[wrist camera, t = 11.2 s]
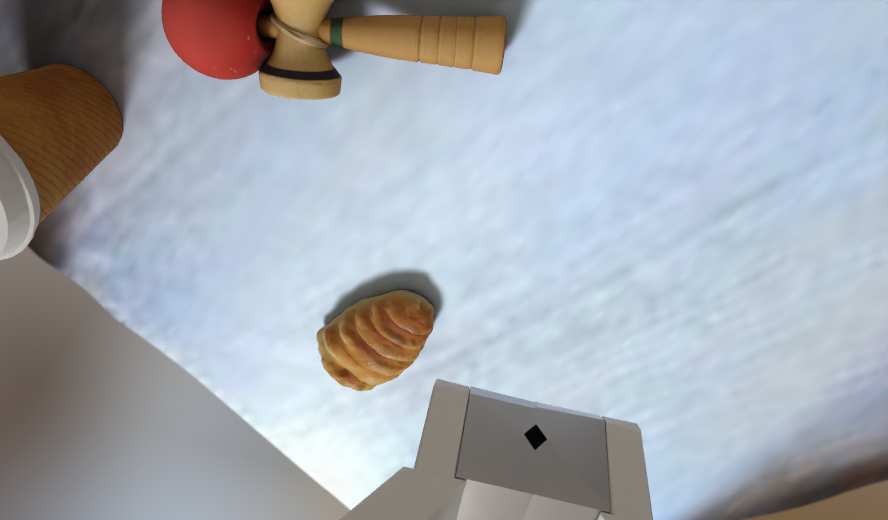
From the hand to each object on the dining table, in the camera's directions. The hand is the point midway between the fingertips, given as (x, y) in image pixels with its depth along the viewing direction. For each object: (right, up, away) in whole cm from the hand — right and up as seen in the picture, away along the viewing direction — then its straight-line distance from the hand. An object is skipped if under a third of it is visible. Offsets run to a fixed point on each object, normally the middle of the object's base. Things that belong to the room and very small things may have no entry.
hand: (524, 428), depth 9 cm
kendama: (-7, +16, +26) cm, 32 cm away
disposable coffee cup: (-25, +12, +32) cm, 43 cm away
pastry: (-6, -2, +39) cm, 39 cm away
